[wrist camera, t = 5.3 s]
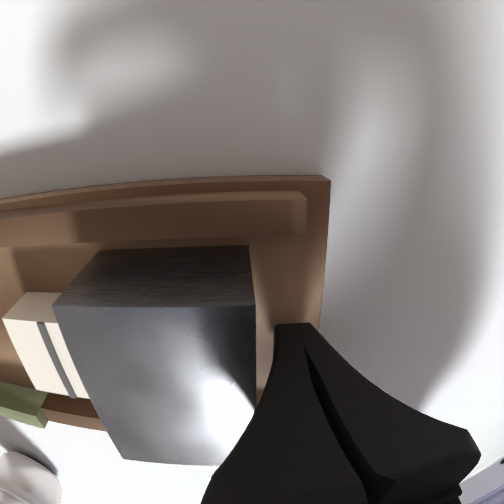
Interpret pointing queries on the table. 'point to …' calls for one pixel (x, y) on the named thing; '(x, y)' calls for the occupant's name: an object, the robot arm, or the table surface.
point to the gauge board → (162, 236)
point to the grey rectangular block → (166, 348)
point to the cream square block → (42, 345)
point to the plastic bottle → (27, 481)
